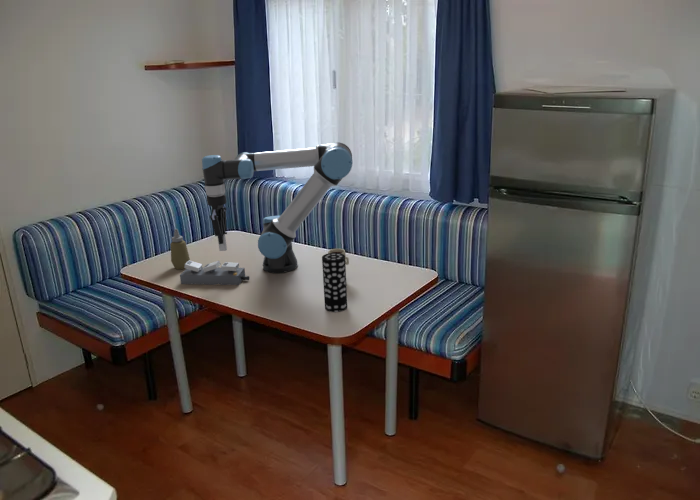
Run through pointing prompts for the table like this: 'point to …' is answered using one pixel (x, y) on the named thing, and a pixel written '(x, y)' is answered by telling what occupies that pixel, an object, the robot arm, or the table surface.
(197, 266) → the plate
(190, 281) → the switch strip
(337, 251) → the character mug
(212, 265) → the block
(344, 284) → the spotted tube
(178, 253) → the squeeze bottle
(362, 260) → the table surface
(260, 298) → the table surface
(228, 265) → the plate
